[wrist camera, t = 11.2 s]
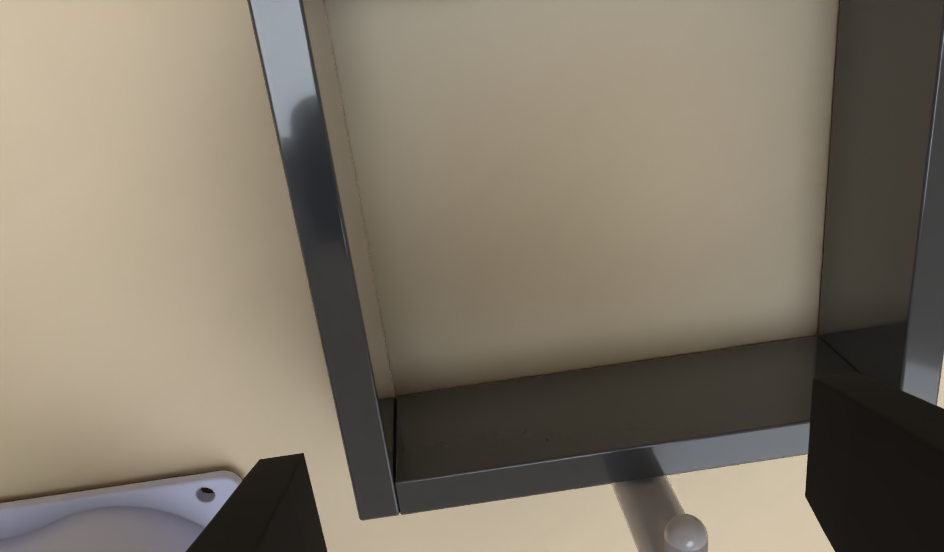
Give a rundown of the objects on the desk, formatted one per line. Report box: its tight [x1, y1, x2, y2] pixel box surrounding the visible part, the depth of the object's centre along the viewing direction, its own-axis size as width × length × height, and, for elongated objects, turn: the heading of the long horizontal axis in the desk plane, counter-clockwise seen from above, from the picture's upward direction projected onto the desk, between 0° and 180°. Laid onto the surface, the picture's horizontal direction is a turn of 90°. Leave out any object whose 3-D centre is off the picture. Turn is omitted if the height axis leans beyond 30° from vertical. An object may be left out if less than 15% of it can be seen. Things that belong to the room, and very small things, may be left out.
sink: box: [247, 0, 944, 552], centre depth 17 cm, size 14×15×7 cm
